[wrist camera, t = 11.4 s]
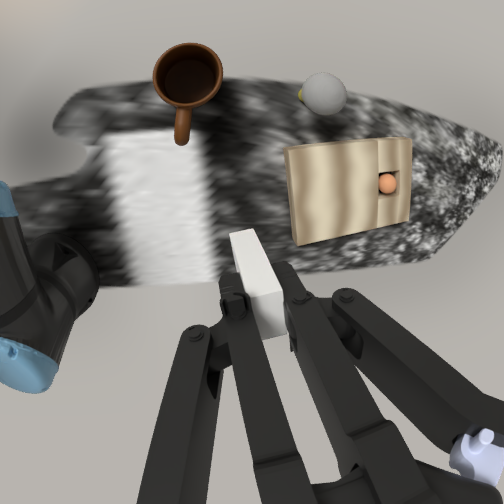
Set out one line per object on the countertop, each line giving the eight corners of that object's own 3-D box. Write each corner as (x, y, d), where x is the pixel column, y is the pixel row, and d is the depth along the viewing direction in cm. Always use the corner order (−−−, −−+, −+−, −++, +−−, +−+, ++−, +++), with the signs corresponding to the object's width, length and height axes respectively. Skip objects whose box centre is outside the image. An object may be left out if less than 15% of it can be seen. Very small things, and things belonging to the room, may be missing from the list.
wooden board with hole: (292, 239, 47) (297, 246, 45) (283, 147, 40) (288, 150, 37) (400, 215, 49) (408, 220, 47) (402, 136, 42) (411, 139, 39)
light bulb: (312, 73, 35) (345, 66, 26) (325, 106, 38) (361, 108, 29) (279, 84, 35) (304, 78, 26) (293, 118, 38) (322, 122, 29)
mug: (211, 141, 37) (215, 150, 29) (156, 139, 36) (145, 148, 28) (220, 58, 32) (228, 43, 24) (164, 56, 30) (155, 40, 22)
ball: (393, 197, 42) (398, 191, 44) (394, 177, 41) (398, 172, 43) (374, 194, 44) (380, 188, 46) (375, 174, 43) (380, 170, 45)
